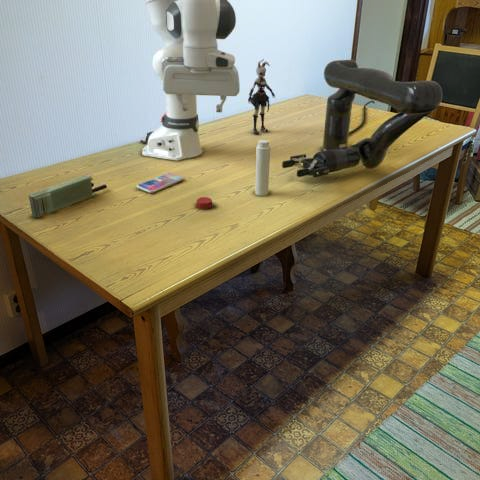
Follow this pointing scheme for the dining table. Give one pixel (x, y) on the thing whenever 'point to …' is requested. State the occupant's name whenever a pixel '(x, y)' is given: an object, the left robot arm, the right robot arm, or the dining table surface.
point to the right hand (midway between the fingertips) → (290, 169)
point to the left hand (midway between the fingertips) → (202, 111)
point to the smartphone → (159, 182)
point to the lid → (204, 203)
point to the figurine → (260, 96)
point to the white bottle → (262, 168)
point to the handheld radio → (62, 195)
